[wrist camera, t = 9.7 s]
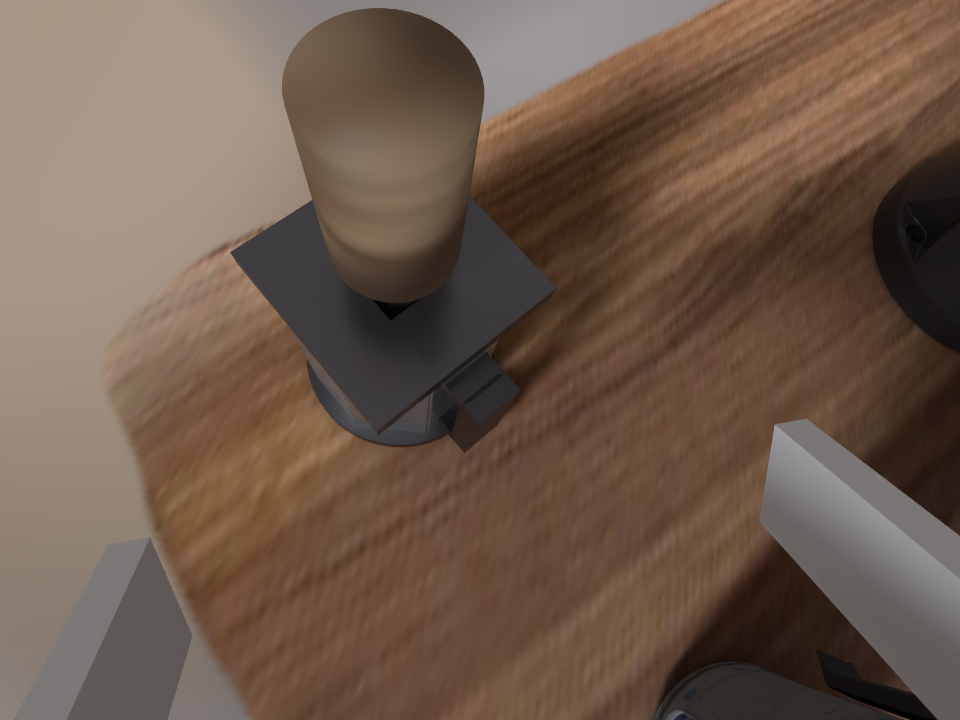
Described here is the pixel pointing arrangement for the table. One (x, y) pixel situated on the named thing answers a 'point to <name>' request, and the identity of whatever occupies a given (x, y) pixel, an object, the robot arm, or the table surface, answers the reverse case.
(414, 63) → the plunger
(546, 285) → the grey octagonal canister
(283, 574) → the table surface
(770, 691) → the beverage bottle
